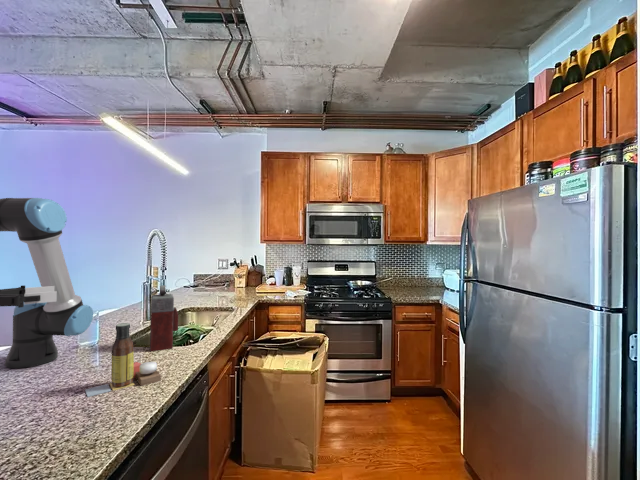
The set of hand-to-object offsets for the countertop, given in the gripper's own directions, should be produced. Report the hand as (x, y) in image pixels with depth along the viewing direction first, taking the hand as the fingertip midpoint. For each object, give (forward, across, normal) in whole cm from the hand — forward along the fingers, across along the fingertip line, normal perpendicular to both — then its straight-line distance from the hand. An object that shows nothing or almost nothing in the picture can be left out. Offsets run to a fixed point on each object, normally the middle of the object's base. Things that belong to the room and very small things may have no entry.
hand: (55, 293), depth 91 cm
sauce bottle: (+18, 0, -32) cm, 36 cm away
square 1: (+11, 0, -32) cm, 34 cm away
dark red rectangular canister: (+40, -32, -32) cm, 60 cm away
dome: (+25, +1, -29) cm, 38 cm away
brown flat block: (+25, +1, -32) cm, 41 cm away
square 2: (+18, 0, -32) cm, 36 cm away
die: (+22, -5, -32) cm, 39 cm away
